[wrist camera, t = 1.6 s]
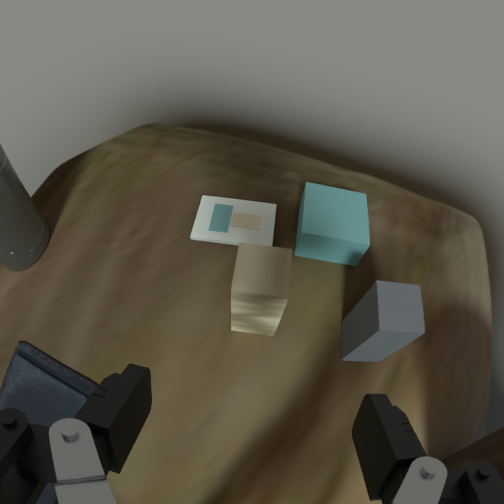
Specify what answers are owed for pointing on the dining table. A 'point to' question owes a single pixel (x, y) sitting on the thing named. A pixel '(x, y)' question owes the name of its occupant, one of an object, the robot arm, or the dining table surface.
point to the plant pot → (481, 453)
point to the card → (234, 221)
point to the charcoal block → (382, 322)
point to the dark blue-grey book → (43, 393)
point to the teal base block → (332, 225)
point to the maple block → (260, 288)
